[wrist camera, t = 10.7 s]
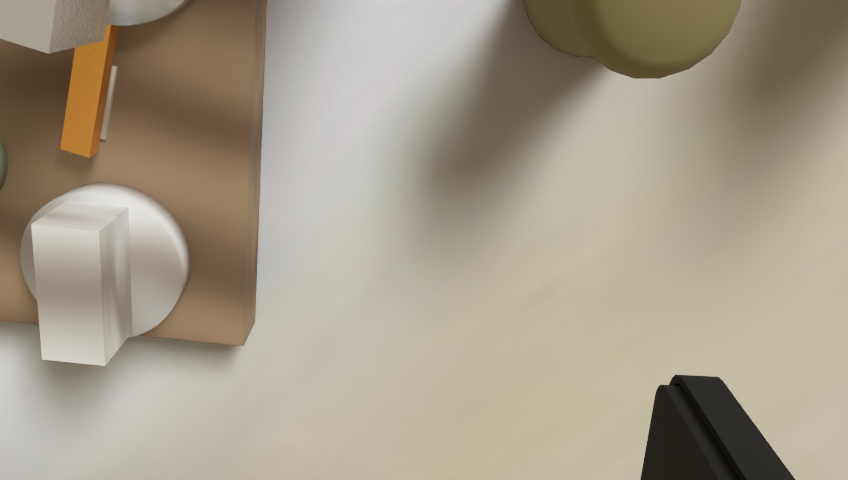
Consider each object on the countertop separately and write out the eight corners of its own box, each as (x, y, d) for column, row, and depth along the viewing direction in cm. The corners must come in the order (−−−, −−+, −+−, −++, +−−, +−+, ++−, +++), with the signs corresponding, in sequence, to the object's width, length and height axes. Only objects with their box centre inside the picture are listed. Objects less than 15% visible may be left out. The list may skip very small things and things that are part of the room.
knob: (46, -202, 27) (-108, -267, 19) (232, -137, 28) (156, -175, 20) (7, 120, 31) (-131, 172, 23) (170, 169, 32) (87, 235, 24)
